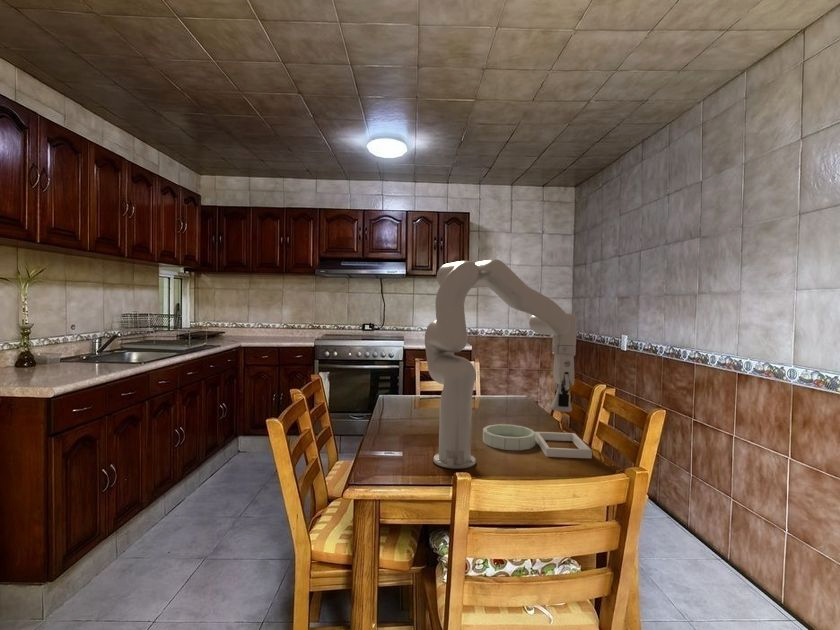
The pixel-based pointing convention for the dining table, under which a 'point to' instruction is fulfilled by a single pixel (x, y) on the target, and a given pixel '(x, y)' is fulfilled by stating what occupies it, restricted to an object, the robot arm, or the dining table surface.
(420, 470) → the dining table surface
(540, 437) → the light grey rectangular frame
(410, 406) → the dining table surface
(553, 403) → the flask
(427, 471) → the dining table surface
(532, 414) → the dining table surface
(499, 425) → the bowl
